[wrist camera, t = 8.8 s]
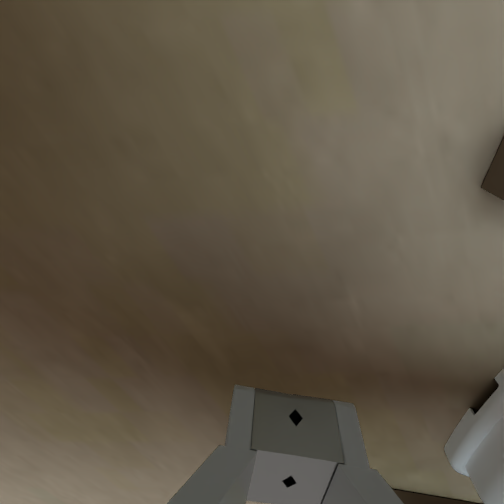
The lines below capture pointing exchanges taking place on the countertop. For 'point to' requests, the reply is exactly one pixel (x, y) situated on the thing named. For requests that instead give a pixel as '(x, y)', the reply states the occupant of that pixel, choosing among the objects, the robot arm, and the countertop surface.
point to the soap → (481, 446)
